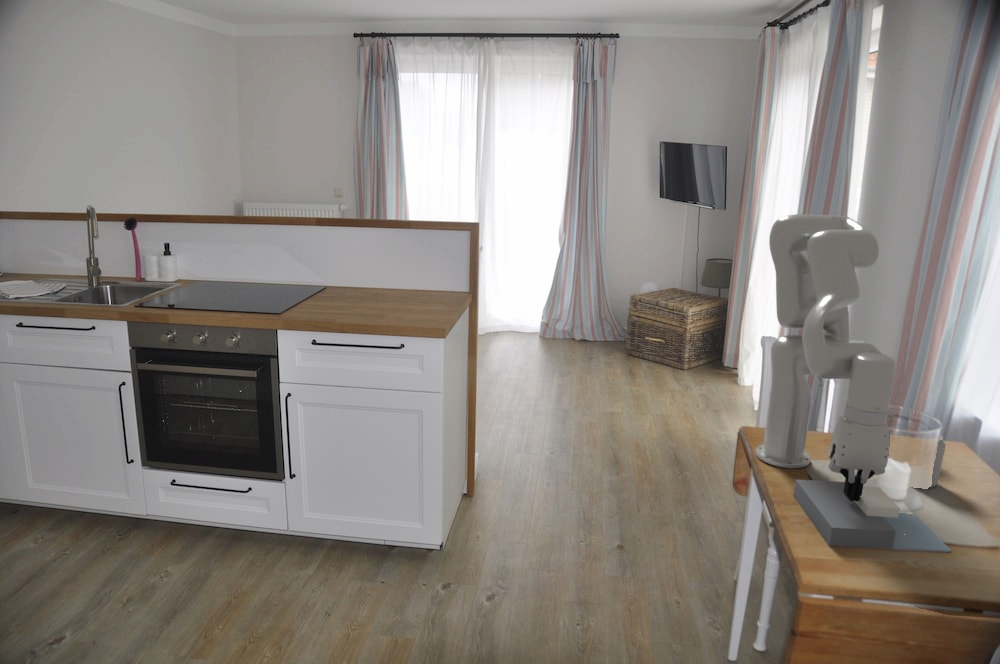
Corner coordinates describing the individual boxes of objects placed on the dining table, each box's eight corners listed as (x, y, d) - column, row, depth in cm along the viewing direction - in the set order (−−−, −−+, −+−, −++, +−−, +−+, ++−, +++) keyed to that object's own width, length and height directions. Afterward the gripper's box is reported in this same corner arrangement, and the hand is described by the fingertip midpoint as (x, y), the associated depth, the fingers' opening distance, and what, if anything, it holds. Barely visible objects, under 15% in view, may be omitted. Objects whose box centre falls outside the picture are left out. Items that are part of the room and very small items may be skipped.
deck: (793, 495, 154) (795, 479, 153) (848, 498, 153) (851, 482, 152) (828, 545, 135) (831, 527, 134) (892, 549, 134) (895, 530, 133)
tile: (848, 494, 147) (850, 485, 146) (877, 495, 146) (879, 487, 146) (866, 515, 138) (868, 506, 138) (898, 517, 138) (899, 508, 137)
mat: (848, 498, 153) (849, 497, 153) (900, 501, 153) (900, 499, 153) (892, 549, 134) (892, 547, 134) (951, 552, 133) (951, 550, 133)
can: (942, 491, 158) (952, 442, 154) (906, 487, 159) (915, 439, 156) (929, 476, 165) (939, 429, 162) (895, 473, 166) (904, 426, 163)
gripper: (895, 409, 141) (881, 491, 145) (819, 406, 142) (807, 487, 147) (913, 423, 134) (898, 509, 138) (834, 419, 135) (820, 505, 139)
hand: (851, 498), depth 142 cm, fingers closed
